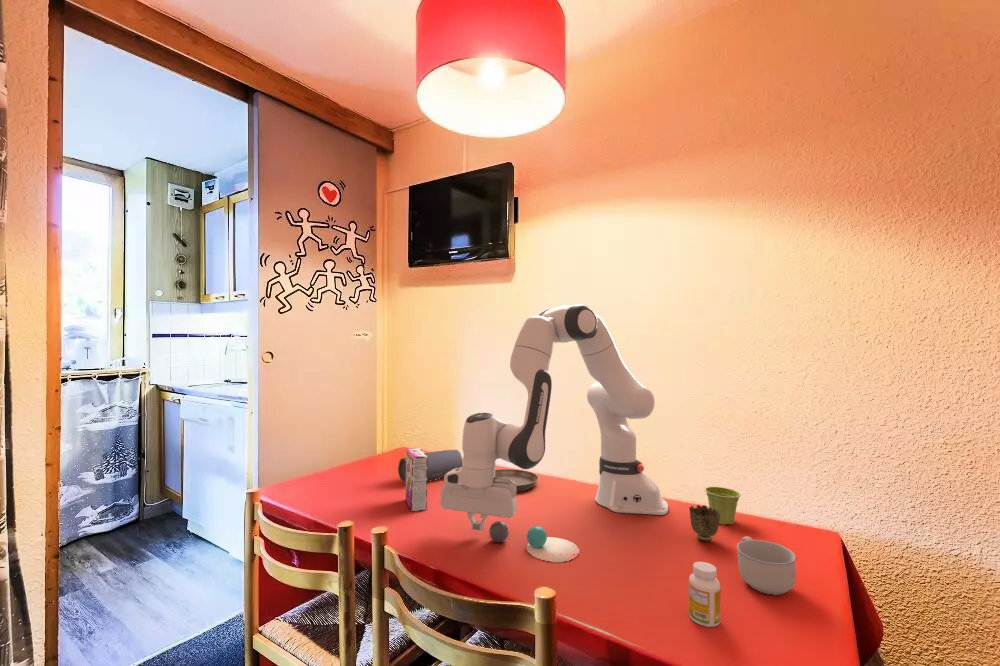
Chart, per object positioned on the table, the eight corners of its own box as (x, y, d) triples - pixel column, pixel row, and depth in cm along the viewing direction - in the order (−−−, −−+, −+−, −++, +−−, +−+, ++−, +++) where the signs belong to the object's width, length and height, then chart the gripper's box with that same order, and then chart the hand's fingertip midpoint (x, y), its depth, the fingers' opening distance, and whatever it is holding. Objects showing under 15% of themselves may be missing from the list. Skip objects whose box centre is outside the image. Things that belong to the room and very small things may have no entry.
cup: (702, 547, 112) (702, 516, 112) (682, 535, 119) (683, 505, 119) (726, 545, 114) (726, 513, 114) (706, 533, 121) (706, 503, 121)
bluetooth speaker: (449, 471, 174) (450, 446, 174) (463, 477, 167) (463, 450, 167) (396, 481, 159) (397, 454, 160) (409, 488, 152) (409, 459, 153)
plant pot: (709, 512, 136) (709, 484, 136) (743, 520, 130) (743, 491, 130) (700, 521, 129) (701, 491, 129) (736, 530, 123) (736, 499, 123)
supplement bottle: (711, 610, 85) (711, 559, 86) (726, 628, 80) (726, 573, 80) (683, 610, 85) (684, 559, 85) (697, 628, 80) (697, 573, 80)
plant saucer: (480, 476, 169) (480, 467, 169) (534, 476, 170) (534, 468, 170) (481, 495, 148) (481, 485, 148) (542, 495, 150) (542, 485, 150)
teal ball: (526, 536, 114) (543, 546, 112) (521, 544, 109) (540, 555, 108) (533, 519, 113) (551, 529, 112) (529, 526, 109) (547, 537, 107)
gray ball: (496, 515, 116) (491, 532, 116) (488, 522, 111) (484, 540, 112) (513, 522, 114) (508, 540, 115) (506, 531, 110) (501, 549, 110)
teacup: (805, 605, 88) (805, 564, 88) (746, 597, 90) (746, 558, 90) (776, 570, 101) (776, 535, 102) (725, 564, 104) (726, 530, 104)
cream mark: (582, 542, 114) (582, 541, 114) (575, 566, 101) (575, 565, 101) (533, 534, 117) (533, 534, 117) (520, 557, 105) (520, 556, 105)
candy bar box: (404, 499, 141) (405, 448, 142) (419, 498, 143) (421, 447, 144) (410, 512, 131) (412, 457, 131) (427, 510, 133) (428, 455, 133)
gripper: (519, 477, 116) (518, 530, 115) (448, 468, 122) (446, 519, 121) (513, 484, 109) (512, 540, 109) (438, 475, 116) (437, 528, 115)
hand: (477, 529), depth 115 cm, fingers closed
